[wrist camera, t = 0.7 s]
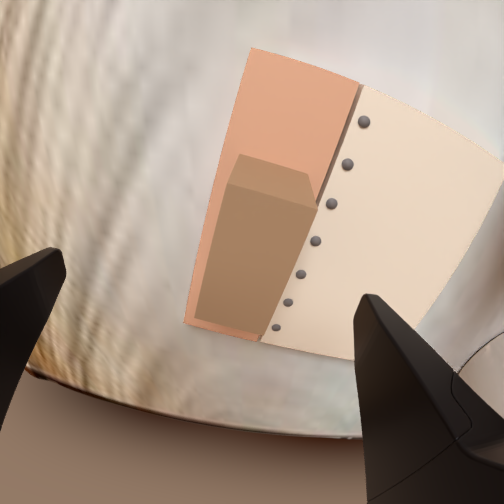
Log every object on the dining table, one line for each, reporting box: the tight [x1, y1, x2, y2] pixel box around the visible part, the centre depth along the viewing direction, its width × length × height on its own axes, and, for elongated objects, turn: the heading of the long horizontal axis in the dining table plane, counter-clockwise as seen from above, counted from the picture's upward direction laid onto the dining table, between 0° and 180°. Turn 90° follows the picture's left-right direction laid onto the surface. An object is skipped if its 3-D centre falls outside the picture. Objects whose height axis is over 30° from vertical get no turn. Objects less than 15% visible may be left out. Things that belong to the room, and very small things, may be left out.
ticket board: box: [260, 84, 504, 360], centre depth 21 cm, size 12×20×2 cm, turn 164°
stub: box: [183, 48, 359, 342], centre depth 18 cm, size 6×20×6 cm, turn 164°
